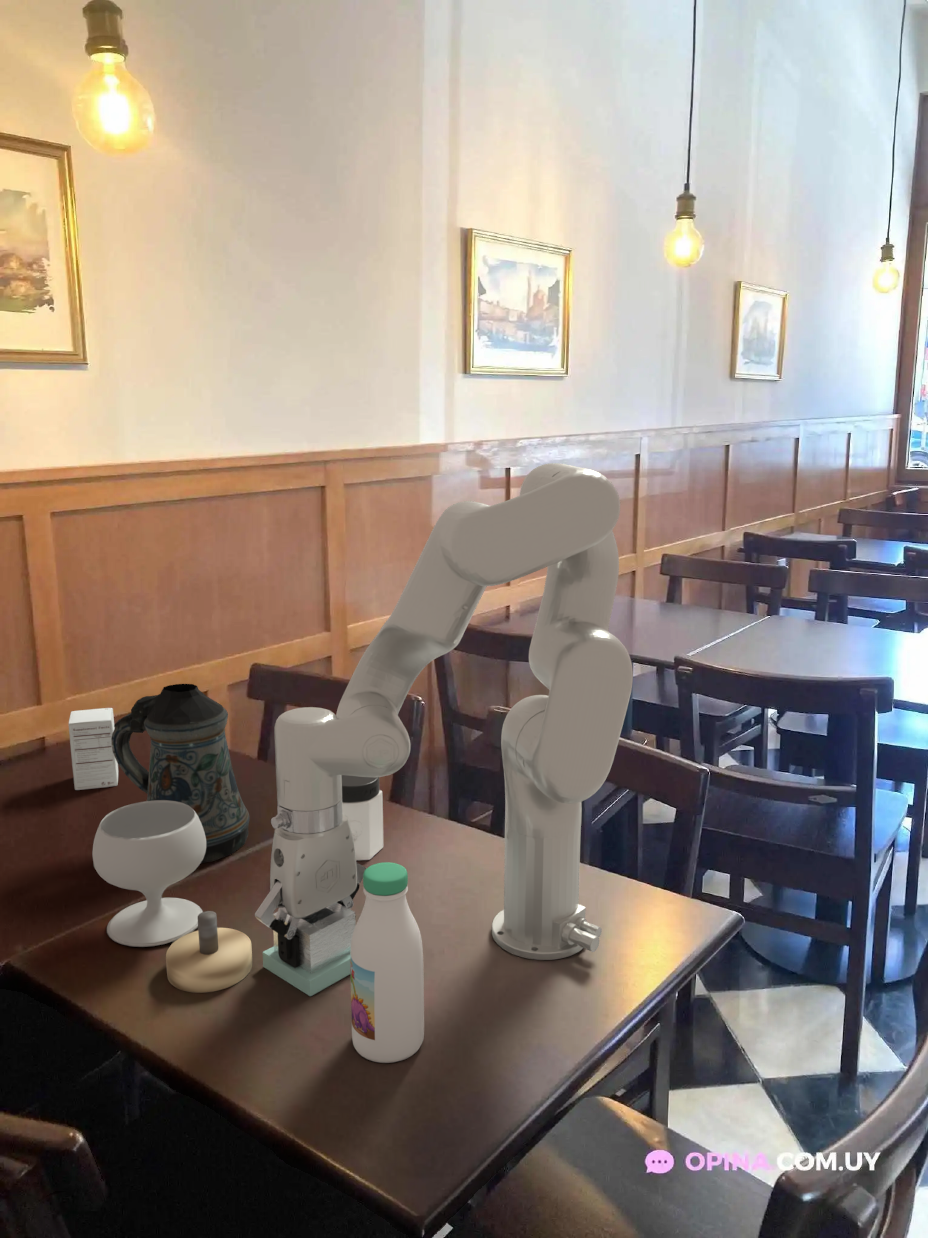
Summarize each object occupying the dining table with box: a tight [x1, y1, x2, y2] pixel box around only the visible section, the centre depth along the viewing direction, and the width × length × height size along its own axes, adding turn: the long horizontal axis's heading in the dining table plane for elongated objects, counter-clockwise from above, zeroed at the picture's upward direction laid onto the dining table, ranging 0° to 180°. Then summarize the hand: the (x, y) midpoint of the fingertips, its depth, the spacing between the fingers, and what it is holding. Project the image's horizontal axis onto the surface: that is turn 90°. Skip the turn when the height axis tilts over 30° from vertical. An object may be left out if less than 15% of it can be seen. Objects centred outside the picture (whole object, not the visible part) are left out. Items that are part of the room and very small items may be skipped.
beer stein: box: [111, 683, 250, 864], centre depth 148 cm, size 16×19×25 cm
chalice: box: [92, 800, 206, 948], centre depth 126 cm, size 14×14×15 cm
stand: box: [262, 945, 351, 997], centre depth 118 cm, size 9×9×4 cm
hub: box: [165, 910, 253, 994], centre depth 117 cm, size 10×10×7 cm
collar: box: [272, 902, 357, 974], centre depth 117 cm, size 7×7×5 cm
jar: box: [342, 775, 384, 862], centre depth 147 cm, size 9×8×12 cm
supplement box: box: [68, 707, 119, 791], centre depth 174 cm, size 7×7×13 cm
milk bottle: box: [349, 861, 425, 1064], centre depth 102 cm, size 8×8×20 cm
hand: (315, 948), depth 118 cm, fingers closed on collar, 7 cm apart
